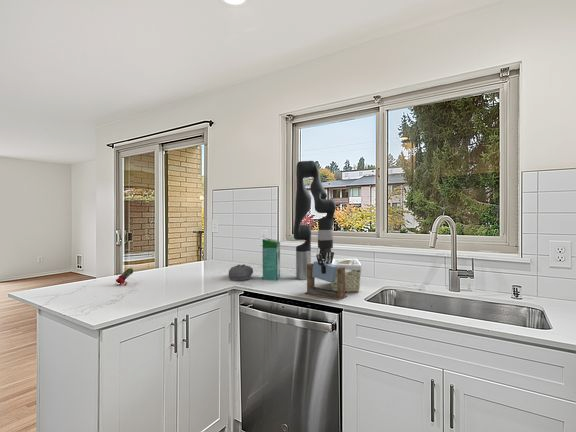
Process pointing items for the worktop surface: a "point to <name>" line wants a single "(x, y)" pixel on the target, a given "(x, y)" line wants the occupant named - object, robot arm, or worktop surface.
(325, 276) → the light blue block
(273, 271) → the milk carton
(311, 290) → the wooden u-shaped rack
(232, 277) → the grey rounded bag
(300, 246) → the robot arm
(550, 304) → the worktop surface
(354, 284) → the storage basket
